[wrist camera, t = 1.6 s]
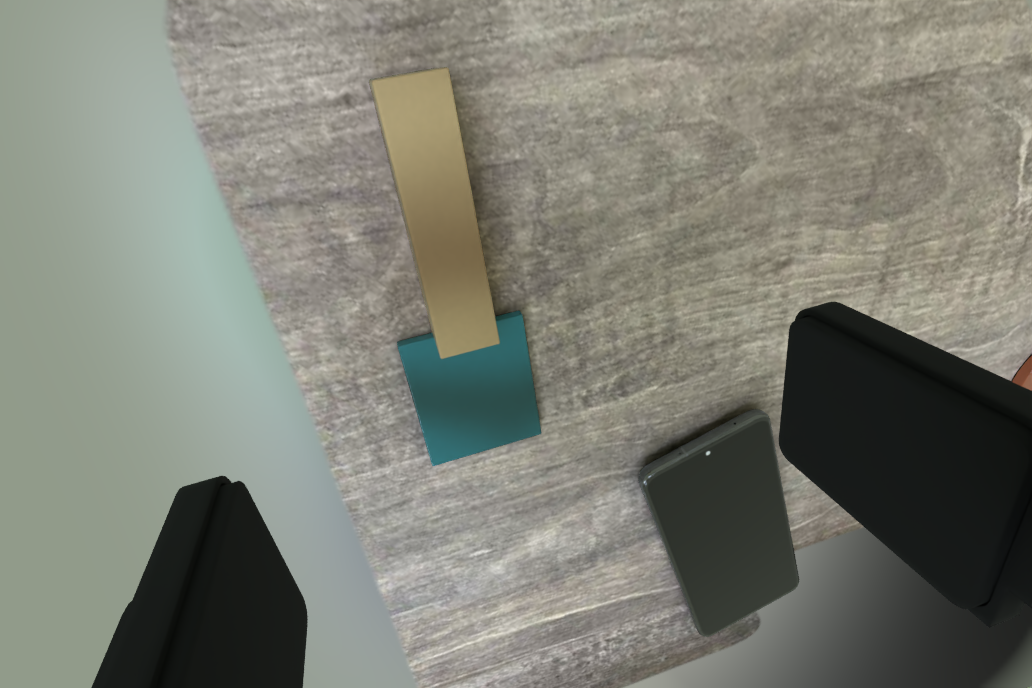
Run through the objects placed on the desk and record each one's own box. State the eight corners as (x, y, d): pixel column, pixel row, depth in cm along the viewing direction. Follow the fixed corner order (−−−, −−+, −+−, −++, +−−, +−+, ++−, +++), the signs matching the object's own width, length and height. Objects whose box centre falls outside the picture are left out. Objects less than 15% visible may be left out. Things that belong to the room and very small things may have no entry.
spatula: (322, 87, 17) (319, 89, 15) (478, 60, 18) (496, 58, 16) (431, 460, 24) (439, 496, 22) (538, 427, 25) (556, 460, 23)
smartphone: (703, 642, 34) (639, 480, 26) (693, 627, 35) (629, 466, 27) (803, 586, 35) (771, 409, 26) (791, 573, 36) (757, 397, 27)
